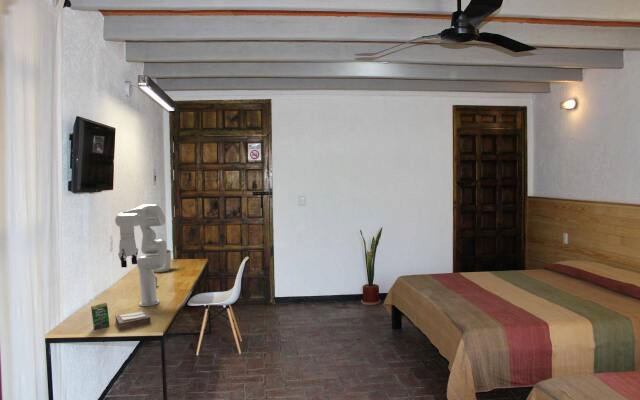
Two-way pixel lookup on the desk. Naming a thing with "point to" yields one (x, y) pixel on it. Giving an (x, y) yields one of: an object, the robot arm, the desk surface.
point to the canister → (167, 265)
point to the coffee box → (100, 316)
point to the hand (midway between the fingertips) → (129, 265)
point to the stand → (132, 320)
